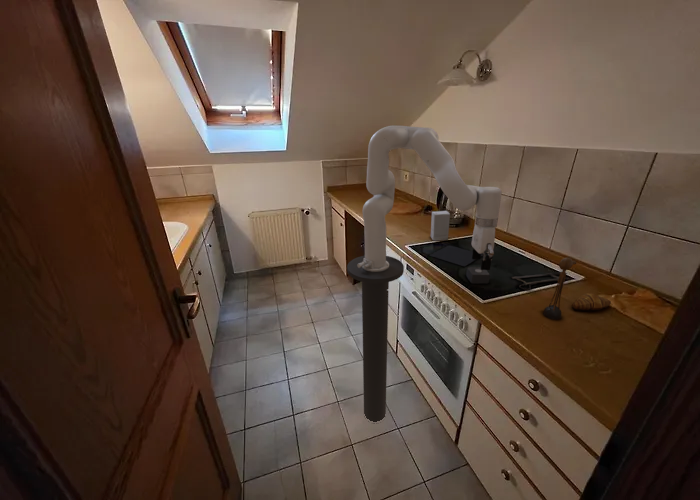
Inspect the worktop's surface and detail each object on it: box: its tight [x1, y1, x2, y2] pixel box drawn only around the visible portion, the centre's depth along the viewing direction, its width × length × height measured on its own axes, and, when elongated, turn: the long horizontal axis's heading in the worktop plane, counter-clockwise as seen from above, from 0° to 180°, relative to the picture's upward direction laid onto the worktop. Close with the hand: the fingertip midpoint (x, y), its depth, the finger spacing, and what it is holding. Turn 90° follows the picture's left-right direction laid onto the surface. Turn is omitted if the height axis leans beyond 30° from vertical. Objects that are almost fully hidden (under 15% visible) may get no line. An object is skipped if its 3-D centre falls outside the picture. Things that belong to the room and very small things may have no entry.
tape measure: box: [465, 266, 491, 285], centre depth 117 cm, size 7×6×4 cm
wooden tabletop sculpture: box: [542, 257, 577, 321], centre depth 91 cm, size 6×5×20 cm
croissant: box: [571, 292, 612, 312], centre depth 97 cm, size 14×7×5 cm, turn 100°
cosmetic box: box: [430, 210, 451, 242], centre depth 158 cm, size 8×6×15 cm
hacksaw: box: [511, 270, 572, 291], centre depth 114 cm, size 24×10×2 cm, turn 96°
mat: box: [428, 244, 483, 268], centre depth 140 cm, size 18×18×1 cm
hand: (480, 264), depth 115 cm, fingers open, 9 cm apart
